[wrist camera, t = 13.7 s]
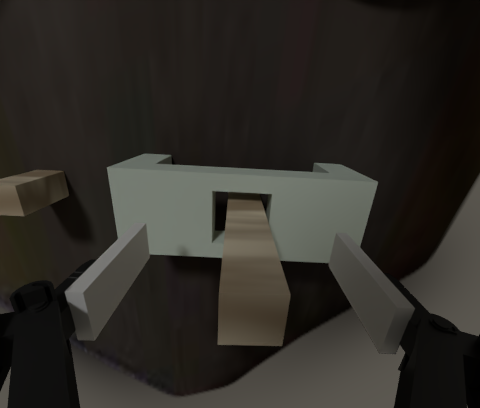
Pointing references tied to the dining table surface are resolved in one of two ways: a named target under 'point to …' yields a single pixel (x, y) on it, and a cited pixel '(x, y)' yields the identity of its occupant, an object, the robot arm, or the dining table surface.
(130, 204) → the bridge
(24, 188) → the short pin
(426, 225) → the dining table surface
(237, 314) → the tall pin
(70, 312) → the robot arm
